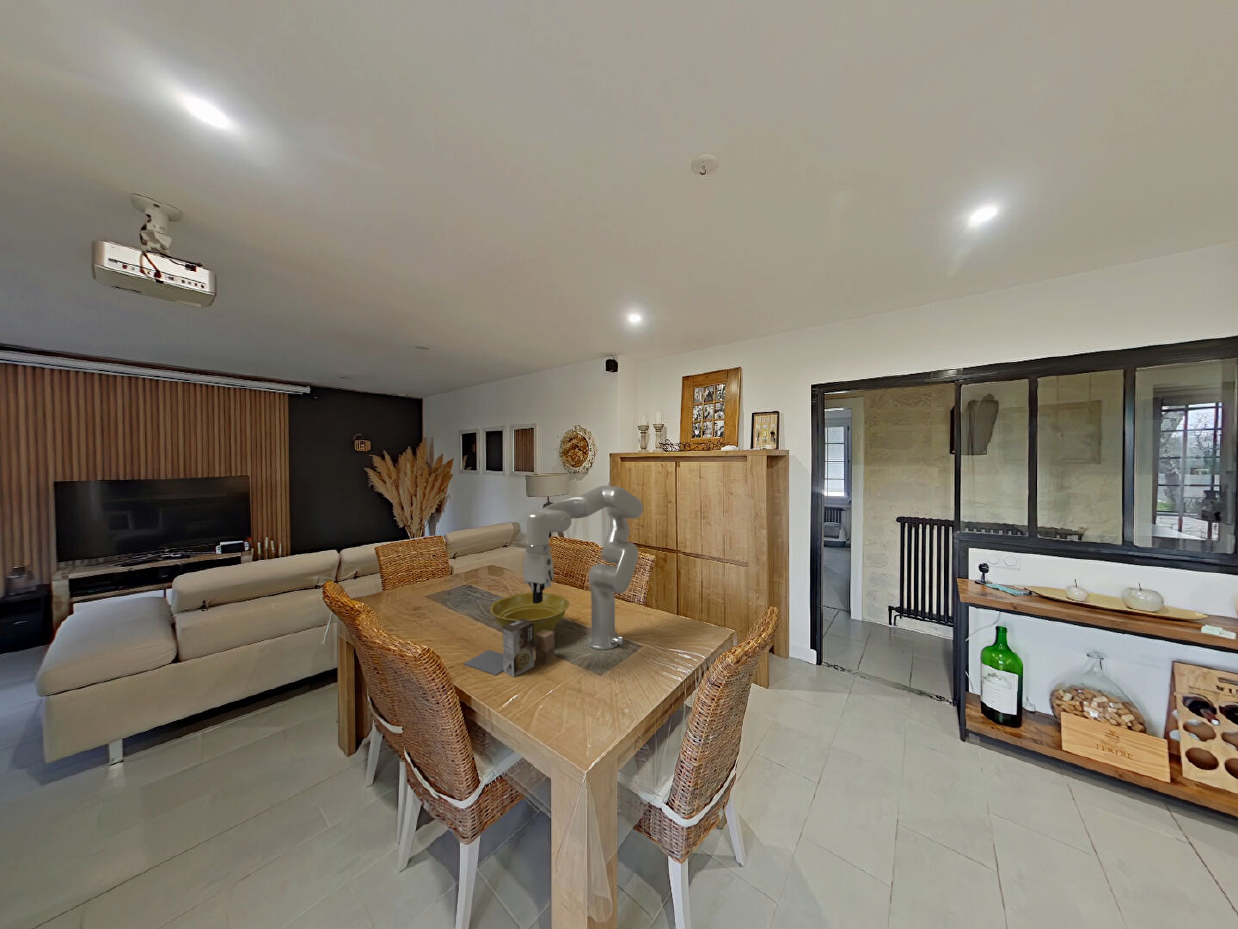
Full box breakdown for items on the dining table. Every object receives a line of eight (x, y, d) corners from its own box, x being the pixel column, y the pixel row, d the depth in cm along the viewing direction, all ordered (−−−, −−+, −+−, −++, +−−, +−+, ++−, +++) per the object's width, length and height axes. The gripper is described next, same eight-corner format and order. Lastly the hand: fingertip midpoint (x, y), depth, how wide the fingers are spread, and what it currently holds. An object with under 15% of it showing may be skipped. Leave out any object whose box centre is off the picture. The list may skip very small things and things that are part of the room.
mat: (520, 660, 149) (520, 659, 149) (495, 675, 138) (495, 674, 138) (488, 650, 156) (488, 649, 156) (463, 664, 146) (463, 663, 146)
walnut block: (554, 658, 150) (554, 632, 150) (546, 664, 146) (545, 637, 145) (544, 655, 152) (543, 629, 152) (535, 661, 148) (535, 634, 148)
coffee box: (523, 661, 148) (523, 617, 148) (535, 667, 144) (534, 622, 144) (502, 671, 141) (502, 625, 141) (513, 677, 137) (513, 630, 137)
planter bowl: (576, 622, 183) (576, 592, 183) (558, 656, 151) (558, 621, 151) (508, 619, 187) (507, 590, 186) (476, 653, 155) (476, 618, 154)
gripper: (562, 549, 137) (562, 602, 137) (528, 544, 144) (528, 595, 145) (548, 553, 131) (548, 609, 131) (513, 548, 138) (513, 602, 138)
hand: (537, 602), depth 138 cm, fingers closed
